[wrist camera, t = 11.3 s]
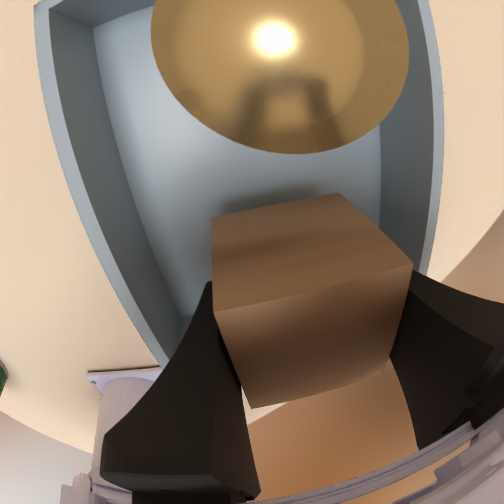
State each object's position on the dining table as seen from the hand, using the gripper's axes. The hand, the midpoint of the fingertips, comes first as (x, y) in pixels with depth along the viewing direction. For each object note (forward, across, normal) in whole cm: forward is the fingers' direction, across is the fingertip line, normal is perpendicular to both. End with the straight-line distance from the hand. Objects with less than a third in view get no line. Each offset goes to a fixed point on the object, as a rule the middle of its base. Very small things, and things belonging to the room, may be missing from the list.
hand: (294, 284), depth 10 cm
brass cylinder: (+4, 0, -8) cm, 9 cm away
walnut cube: (+2, 0, 0) cm, 2 cm away
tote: (+5, 0, -4) cm, 6 cm away
